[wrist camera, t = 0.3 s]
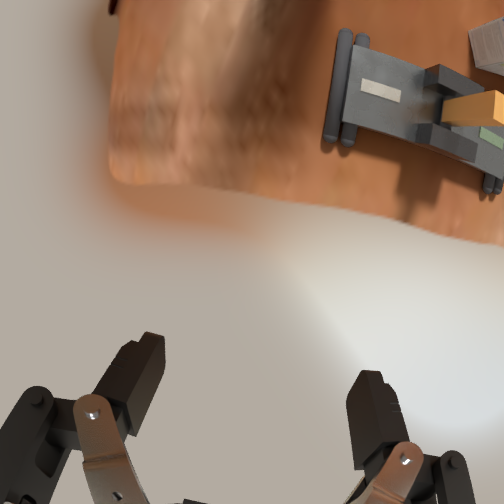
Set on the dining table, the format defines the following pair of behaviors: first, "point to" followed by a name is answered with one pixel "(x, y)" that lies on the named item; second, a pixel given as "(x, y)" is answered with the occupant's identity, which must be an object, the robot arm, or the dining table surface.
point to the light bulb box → (489, 46)
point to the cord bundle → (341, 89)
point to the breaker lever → (473, 110)
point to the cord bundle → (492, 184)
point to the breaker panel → (417, 108)
